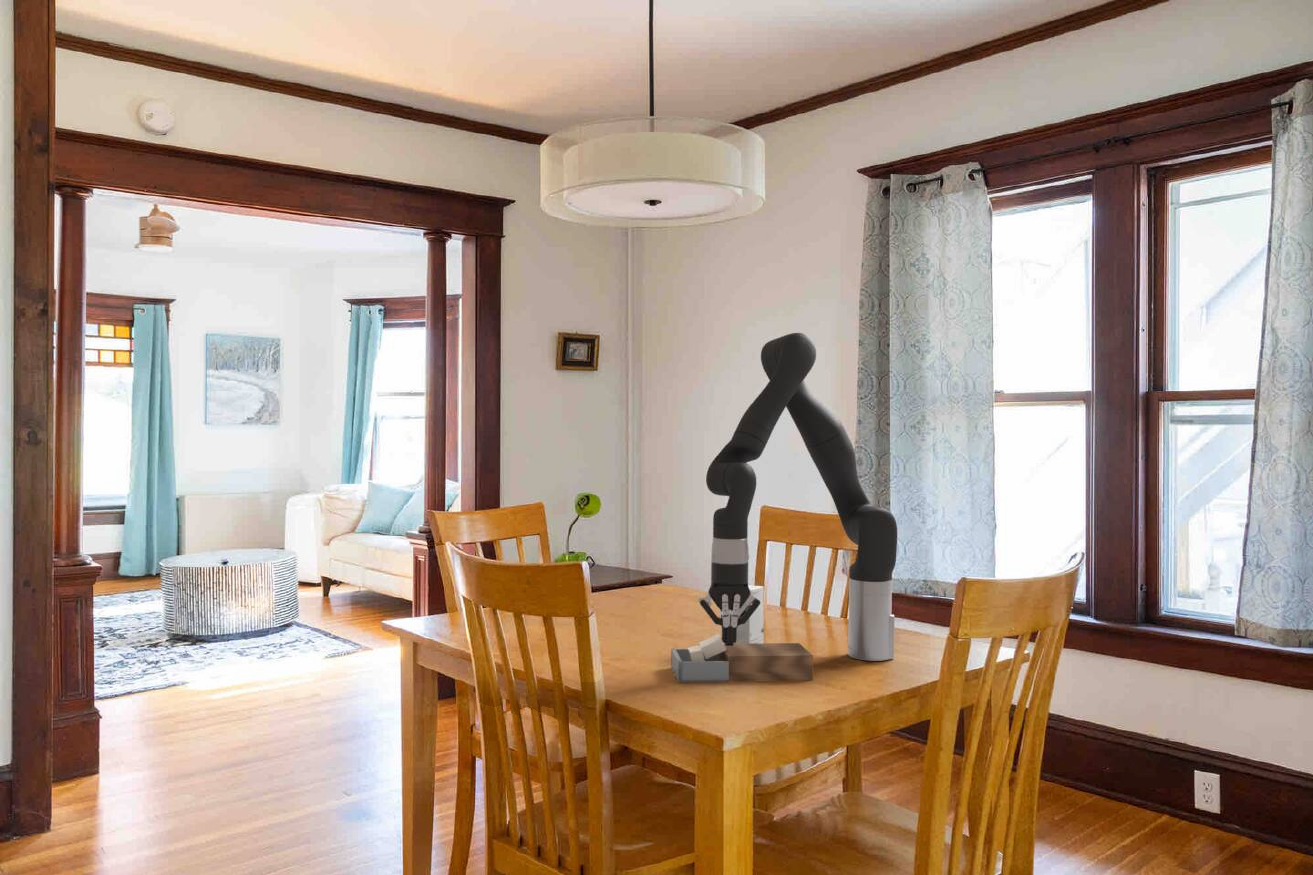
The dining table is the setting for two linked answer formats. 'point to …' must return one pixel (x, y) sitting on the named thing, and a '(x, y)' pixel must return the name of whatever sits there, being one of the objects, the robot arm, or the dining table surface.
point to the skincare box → (752, 620)
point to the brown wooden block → (768, 662)
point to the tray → (698, 668)
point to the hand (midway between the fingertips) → (728, 644)
